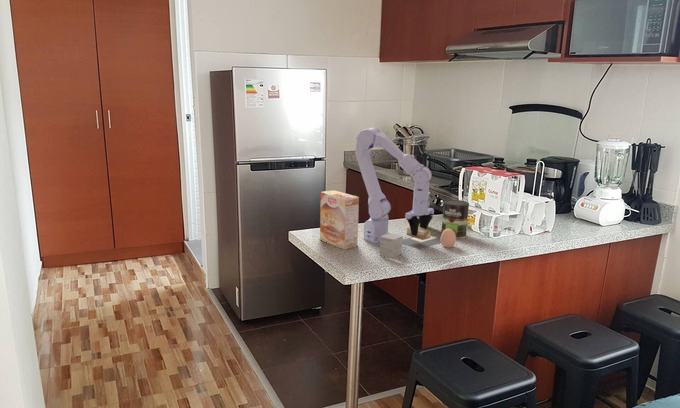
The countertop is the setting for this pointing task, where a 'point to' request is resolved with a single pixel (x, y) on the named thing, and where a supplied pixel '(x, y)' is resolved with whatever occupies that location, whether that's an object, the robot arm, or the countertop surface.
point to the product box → (390, 245)
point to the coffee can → (455, 217)
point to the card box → (420, 233)
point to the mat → (421, 242)
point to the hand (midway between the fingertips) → (418, 234)
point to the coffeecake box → (339, 219)
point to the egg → (448, 238)
